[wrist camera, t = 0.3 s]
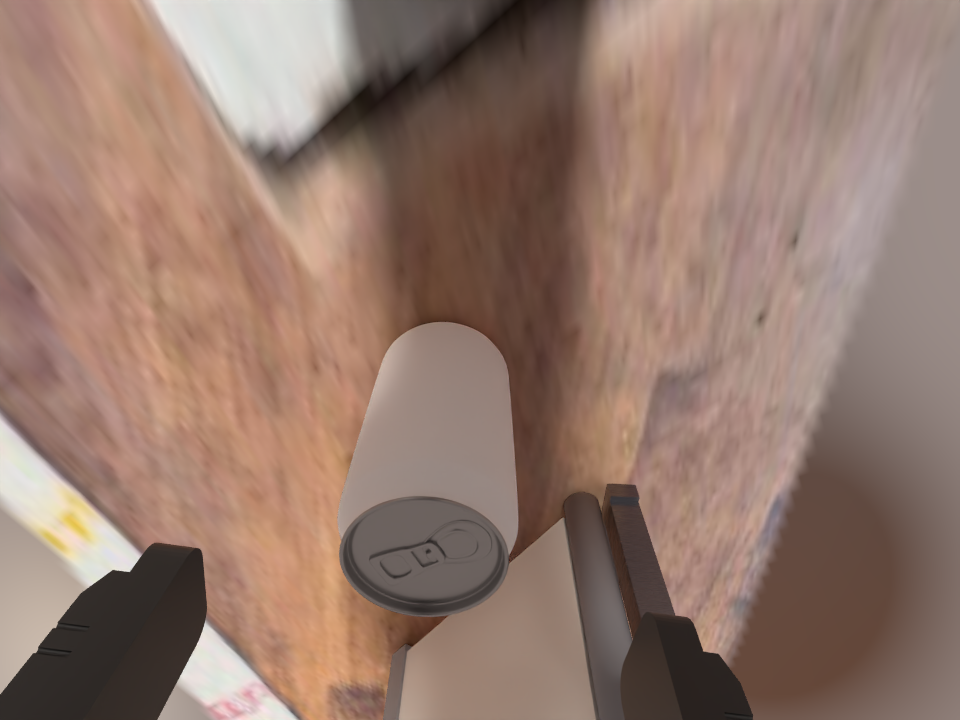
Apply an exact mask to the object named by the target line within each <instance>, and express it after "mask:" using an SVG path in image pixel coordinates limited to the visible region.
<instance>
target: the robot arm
mask: <svg viewBox="0 0 960 720" xmlns="http://www.w3.org/2000/svg"><path fill="white" fill-rule="evenodd" d="M206 612H207V601H206V590H205V578H204V567H203V556H202V552H201V550H200V549H199V548H192V547H185V546H178V545H171V544H163V543H154V544H152V545H151V546H149V547H148V548H147V550H146V551H145V552H144V553H143V555H142V556H141V558H140V559H139V560H138V562H137V563H136V564H135V566H134V567H133V568H132V570H131V571H130V572H124V571H116V570H112V571H111V572H110V573H108V574H107V575H106V576H104V577H103V578H101V579H100V580H99V581H97V582H96V583H94V584H93V585H92V586H90V587H89V588H87V589H86V590H85V591H83V592H82V593H81V594H80V595H79V596H78V598H77V599H76V600H75V602H74V603H73V604H72V605H71V606H70V608H69V609H68V610H67V612H66V613H65V614H64V615H63V617H62V618H61V619H60V620H59V621H58V625H57V627H56V628H53V629H52V630H51V632H50V633H49V634H48V635H47V637H46V638H45V639H44V640H43V642H42V643H41V644H40V645H39V647H38V651H37V652H36V653H33V654H32V656H31V657H30V658H29V659H28V660H27V662H26V663H25V664H24V666H23V667H22V668H21V669H20V671H19V672H18V673H17V674H16V676H15V677H14V678H13V679H12V681H11V682H10V683H9V684H8V686H7V687H6V688H5V689H4V691H3V692H2V693H1V694H0V720H157V719H158V717H159V715H160V713H161V711H162V710H163V708H164V706H165V704H166V702H167V700H168V698H169V696H170V694H171V692H172V690H173V689H174V687H175V685H176V683H177V681H178V679H179V677H180V675H181V673H182V672H183V670H184V668H185V666H186V664H187V662H188V660H189V658H190V656H191V654H192V652H193V651H194V649H195V647H196V645H197V643H198V641H199V638H200V636H201V633H202V630H203V627H204V623H205V618H206ZM620 693H621V702H622V708H623V713H624V718H625V720H753V714H752V712H751V709H750V707H749V704H748V701H747V699H746V696H745V694H744V691H743V689H742V686H741V683H740V682H739V681H738V679H737V678H736V677H735V675H734V674H733V673H732V671H731V670H730V669H729V667H728V666H727V665H726V663H725V662H724V661H723V659H722V658H721V657H720V655H719V654H716V653H708V652H703V649H702V646H701V643H700V640H699V638H698V635H697V632H696V629H695V626H694V624H693V622H692V621H691V620H690V619H689V618H687V617H681V616H674V615H667V614H660V613H652V612H646V613H645V614H644V615H643V617H642V619H641V621H640V624H639V626H638V629H637V631H636V634H635V636H634V638H633V641H632V643H631V646H630V648H629V650H628V653H627V655H626V658H625V660H624V663H623V666H622V671H621V679H620Z"/></svg>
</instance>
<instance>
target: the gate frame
mask: <svg viewBox="0 0 960 720" xmlns="http://www.w3.org/2000/svg"><path fill="white" fill-rule="evenodd" d="M638 501H639V495H638V492H637V489H636V486H635V485H622V484H607V489H606V493H605V498H604V503H603V508H602V513H601V514H602V518H603V522H604V526H605V530H606V534H607V538H608V543H609V547H610V551H611V555H612V559H613V563H614V567H615V571H616V575H617V579H618V582H619V585H620V589H621V593H622V597H623V601H624V605H625V609H626V613H627V617H628V621H629V625H630V629H631V633H632V638H634V636H635V634H636V631H637V629H638V626H639V624H640V621H641V619H642V617H643V615H644V614H645V613H646V612H652V613H660V614H667V615H674V616H675V613H674V610H673V607H672V603H671V600H670V597H669V594H668V591H667V588H666V585H665V582H664V579H663V576H662V573H661V570H660V567H659V564H658V561H657V558H656V555H655V552H654V549H653V545H652V542H651V539H650V536H649V533H648V530H647V527H646V524H645V521H644V518H643V515H642V512H641V509H640V506H639V503H638Z"/></svg>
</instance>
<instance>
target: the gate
mask: <svg viewBox="0 0 960 720" xmlns="http://www.w3.org/2000/svg"><path fill="white" fill-rule="evenodd" d="M564 511H565V517H566V519H565V518H563V517H562V518H561V519H560V520H559V521H558V522H557V523H556V524H554V525H553V526H552V527H551V528H550V529H549V530H547V531H546V532H545V533H544V534H543V535H542V536H540V537H539V538H538V539H537V540H536V541H535V542H534V543H532V544H531V545H530V546H529V547H528V548H527V549H525V550H524V551H523V552H522V553H521V554H520V555H518V556H517V557H516V558H515V559H514V560H513V561H511V562H510V563H509V566H508V571H507V574H506V577H505V579H504V581H503V583H502V584H501V586H500V587H499V589H498V590H497V591H496V592H495V593H494V594H493V595H492V596H491V597H490V598H488V599H487V600H486V601H484V602H483V603H481V604H479V605H477V606H476V607H473V608H471V609H469V610H466V611H463V612H460V613H457V614H452V615H449V616H448V617H447V618H445V619H444V620H443V621H442V622H441V623H440V624H439V625H437V626H436V627H435V628H434V629H433V630H432V631H430V632H429V633H428V634H427V635H426V636H425V637H423V638H422V639H421V640H420V641H419V642H418V643H417V644H415V645H414V646H413V647H411V646H409V645H407V644H405V645H403V646H402V647H401V648H400V649H399V650H398V651H397V652H395V653H394V654H393V655H392V661H391V668H390V675H389V682H388V689H387V696H386V702H385V709H384V716H383V720H625V718H624V713H623V708H622V702H621V693H620V679H621V671H622V666H623V663H624V660H625V658H626V655H627V653H628V650H629V648H630V646H631V643H632V637H631V633H630V629H629V625H628V621H627V616H626V612H625V608H624V604H623V600H622V596H621V592H620V588H619V584H618V579H617V575H616V571H615V567H614V563H613V559H612V555H611V551H610V547H609V543H608V538H607V534H606V530H605V526H604V522H603V518H602V514H601V510H600V506H599V502H598V499H597V498H596V497H595V496H594V495H592V494H590V493H586V492H580V493H575V494H573V495H571V496H569V497H568V498H567V499H566V501H565V503H564Z"/></svg>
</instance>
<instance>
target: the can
mask: <svg viewBox="0 0 960 720" xmlns="http://www.w3.org/2000/svg"><path fill="white" fill-rule="evenodd" d="M338 529H339V534H340V538H341V544H340V550H339V558H340V564H341V568H342V570H343V573H344V575H345V577H346V578H347V580H348V582H349V583H350V584H351V585H352V587H353V588H354V589H355V590H356V591H357V592H358V593H359V594H361V595H362V596H363V597H364V598H366V599H367V600H369V601H370V602H372V603H374V604H376V605H378V606H380V607H382V608H384V609H387V610H390V611H393V612H396V613H400V614H404V615H410V616H418V617H439V616H447V615H452V614H457V613H460V612H463V611H466V610H469V609H471V608H473V607H476V606H477V605H479V604H481V603H483V602H484V601H486V600H487V599H488V598H490V597H491V596H492V595H493V594H494V593H495V592H496V591H497V590H498V589H499V587H500V586H501V584H502V583H503V581H504V579H505V577H506V574H507V571H508V566H509V555H510V553H511V551H512V549H513V547H514V544H515V541H516V538H517V533H518V498H517V482H516V467H515V452H514V438H513V424H512V411H511V398H510V385H509V375H508V369H507V365H506V362H505V360H504V358H503V356H502V354H501V353H500V351H499V350H498V349H497V347H496V346H495V345H494V344H493V343H492V342H491V341H490V340H489V339H488V338H487V337H486V336H485V335H483V334H482V333H480V332H479V331H477V330H475V329H473V328H470V327H468V326H465V325H462V324H457V323H451V322H434V323H427V324H423V325H420V326H417V327H415V328H412V329H410V330H408V331H407V332H405V333H404V334H402V335H401V336H400V337H398V338H397V339H396V340H395V341H394V342H393V343H392V345H391V346H390V347H389V349H388V351H387V352H386V354H385V356H384V359H383V361H382V364H381V367H380V370H379V373H378V376H377V379H376V383H375V386H374V389H373V392H372V395H371V399H370V402H369V405H368V408H367V412H366V415H365V418H364V422H363V425H362V428H361V431H360V435H359V438H358V441H357V445H356V448H355V451H354V455H353V458H352V461H351V465H350V468H349V471H348V475H347V478H346V482H345V485H344V488H343V492H342V496H341V500H340V504H339V510H338Z"/></svg>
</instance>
